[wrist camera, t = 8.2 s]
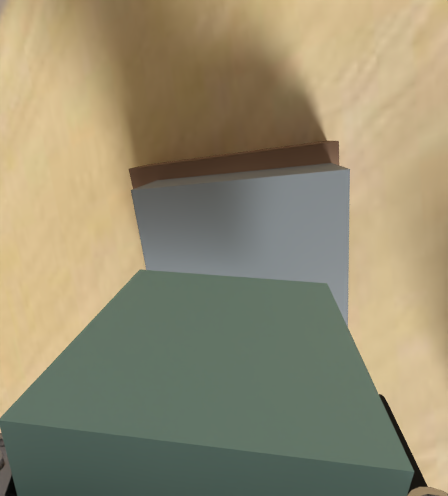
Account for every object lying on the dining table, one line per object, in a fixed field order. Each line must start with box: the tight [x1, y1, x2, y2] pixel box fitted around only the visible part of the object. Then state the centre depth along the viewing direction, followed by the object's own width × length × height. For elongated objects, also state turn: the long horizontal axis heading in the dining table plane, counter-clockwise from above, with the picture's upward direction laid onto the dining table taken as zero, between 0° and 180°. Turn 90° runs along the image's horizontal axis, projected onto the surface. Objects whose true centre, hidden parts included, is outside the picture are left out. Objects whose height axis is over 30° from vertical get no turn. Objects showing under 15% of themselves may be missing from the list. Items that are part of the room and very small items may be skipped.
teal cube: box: [0, 270, 414, 496], centre depth 8 cm, size 6×6×6 cm
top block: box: [131, 163, 350, 327], centre depth 18 cm, size 10×10×4 cm
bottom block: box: [129, 141, 339, 189], centre depth 22 cm, size 12×12×4 cm
